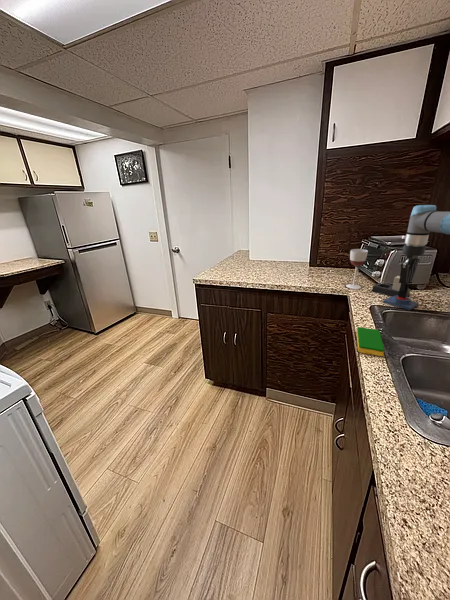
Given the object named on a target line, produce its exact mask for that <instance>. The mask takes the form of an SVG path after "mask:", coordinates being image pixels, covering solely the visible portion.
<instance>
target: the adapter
mask: <svg viewBox="0 0 450 600" xmlns="http://www.w3.org/2000/svg"><path fill="white" fill-rule="evenodd" d="M381 283H382V282H379V283H376V284H373V285H372V290H371V292H373V293H378V294H382V295H385V296H389V297H391V296H397V295H398V294H399V291H397V290H393V289H392V287H393V284H389V283H385V284H381ZM410 293H411V288H408V291H407V295H406V297H408V296H409V295H410Z"/></svg>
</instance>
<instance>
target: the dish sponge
mask: <svg viewBox="0 0 450 600" xmlns="http://www.w3.org/2000/svg"><path fill="white" fill-rule="evenodd" d="M356 339H357V340H356V343H357V352H358V353H361V354H367V355H373V356H378V357H384V354H385V347H384V343H383V338H382V334H381V331H380V329H376V328H370V327H369V328H368V327H361V326H357V327H356Z"/></svg>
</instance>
